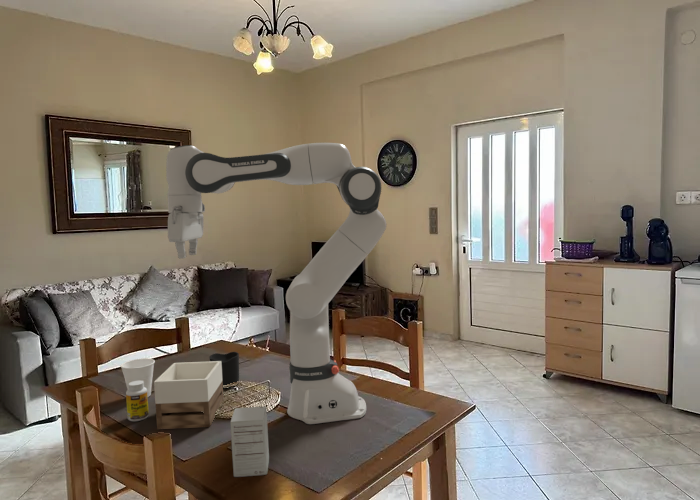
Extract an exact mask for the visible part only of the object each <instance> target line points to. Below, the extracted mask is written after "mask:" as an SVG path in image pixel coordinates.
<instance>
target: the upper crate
mask: <svg viewBox="0 0 700 500" xmlns="http://www.w3.org/2000/svg"><path fill="white" fill-rule="evenodd" d="M222 381H223V380H222V363H221V361H210V360H209V361H192V362H191V361H189V362H187V361H186V362H185V361H184V362H174V363H172V364H171V365H170V366H169V367H168V368H167V369H166V370H165V371H164V372H163V373H162V374H161V375H159V376H158V377H157V378H156V379H155V380H154V381H153V388H154V400H155V401H154V403H155V405H156V404H163V403H187V402H209V400H210V399H211V397H212V396H213V394H214V393H215V391H216V390H217V388H218V387H219V385H220V384H221V382H222Z"/></svg>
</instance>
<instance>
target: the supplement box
mask: <svg viewBox="0 0 700 500" xmlns="http://www.w3.org/2000/svg"><path fill="white" fill-rule="evenodd" d="M267 414H268V412H267V406H265V405H264V406H248V407H237V408H234V410H233V413H232V416H231V419H230V433H231V434H230V437H231V439H230V440H231V454H232V455H231V457H232V469H233V477H234V478H241V477H253V476H255V477H256V476H264V475H265V476H267V474H268V471H269V464H270V451H269V447H270V446H269V433H268V432H269V431H268V415H267Z"/></svg>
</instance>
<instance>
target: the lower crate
mask: <svg viewBox="0 0 700 500" xmlns="http://www.w3.org/2000/svg"><path fill="white" fill-rule="evenodd" d="M223 399H224V389H223V381H222V382H221V384H220V385H219V387H218V388H217V390H216V391H215V393H214V394H213V396H212V397H211V399H210V400H209V402H187V403H163V404H155V416H156V417H155V418H156V430H169V429H171V430H173V429H190V428H191V429H192V428H193V429H194V428H211V426H212V424H213V423H214V421H215V419H216V418H215V412H216V411H217V409H218V408H219V406H220V404H221V402H222V401H223ZM224 400H225V399H224ZM201 411H204V413H203V412H201ZM214 418H215V419H214ZM213 420H214V421H213ZM212 422H213V423H212Z"/></svg>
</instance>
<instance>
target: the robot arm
mask: <svg viewBox="0 0 700 500" xmlns="http://www.w3.org/2000/svg"><path fill="white" fill-rule="evenodd" d="M165 171H166V173H165V174H166V175H165V176H166V177H165V178H166V182H167V186H168V190H167V194H166V195H167V209H168V210H167V211H168V212H167V213H169V214H168V217H167V239H168V241H169V242H170V243H175V249H176V252H177V258H178V259H180V260H181V259H186V258H187V251H186V247H185V246H186V242H187V241H188V243H189V247H188V255H189V256H195V255H197V249H198V239H202V238H203V236H204V224H205V223H204V219H205V218H204V214H203V213H205V212H206V206H205V204H204V203H203V199H202V194H209V193H210V194H223V193H226V192H229V191H230V190H231V189H232V188H233V187H234V185H236V184H235V183H241V182H242V183H243V182H249V181H260V180H262V181H263V180H264V181H265V180H266V181H275V182H278V183H282V184H286V185H293V186H310V185H318V184H327V183H328V184H333V185H335V186H336V188H337V189H338V192H339V194H340V197H341V199H342V200H343V202H344V203H345V204H346V205H347V206H348V207H349V214H348V216H347V217H346V219H345V220H344V221H343V223H342V224H341V225H340V226H339V227H338V229H336V230H335V232H334V233H333V234H332V235H331V236H330V238H329V239H328V240H327V241H326V242H325V243H324V244H323V246H322V247H321V248H320V249H319V251H318V252H317V253H316V254H315V255H314V257H313V258H312V259H311V260H310V261H309V263H308V264H307V265H306V266H305V267H304V268H303V269H302V271H301V272H300V273H299V274H297V275H296V276H295V277H294V279H292V282H291V283H290V285H289V287H288V288H287V290H286V293H285V302H286V306H287V308H288V310H289V315H290V316H289V317H290V318H289V346H290V347H289V349H290V350H289V351H290V352H289V353H290V362H289V366H288V375H289V381H290V382H289V383H290V393H289V395H290V396H289V401H288V406H287V410H286V413H287V414H288V416H289V417H291V418H293V419H296V420H298V421H299V420H300V421H302V422H304V423H305V424H307V425H315V424H322V423H323V424H324V423H330V422H331V423H332V422H338V421H347V420H355V419H360V418H362V417H364V416H365V415H366V413H367V403H366V401H365V399H364V398H363V397H362V396H359V393H358V390H357V387H356V385H355V384H354V382H352V381H351V380H350V379H348V378H346V377H345V376H343V375H342V374H340V373H339V372H340V367H339V365H338V363H337V361H336V359H334V360H333V359H331V357H330V356H331V355H330V353H331V352H330V351H331V350H330V326H329V325H330V323H329V322H330V321H329V303H330V302H331V301H332V300H333V298H334V297H335V296H336V294H338V292H339V291H340V290H341V288H342V286H344V284H345V283H346V281H347V280H348V279H349V278H350V277H351V275H352V274H353V273H354V272H355V271H356V270H357V268H358V267H359V266H360V265H361V264H362V262H363V261H364V260H365V259H366V258H367V257H368V255H369V254H370V253H371V252H372V251H373V250H374V248H375V247H376V246H377V244H378V242H379V241H380V240H381V238H382V236H383V235H384V233H385V231H386V229H387V225H388V224H387V220H386V218H385V217H384V215H383V213H382V212H381V211H380V210H379V208H378V207H379V204H380V199H381V194H382V193H381V192H382V181H381V178H380V177H379V175H378V174H377V172H376V171H374V170H373V169H371V168H369V167H367V166H357V167H356V166H355V165H354V164H353V160H352V156H351V153H350V150H349V149H348V147H347V146H346V145H344V144H342V143H340V142H339V143H338V142H313V143H311V142H310V143H303V144H298V145H293V146H290V147H285V148H282V149H279V150H274V151H271V152H267V153H264V154H263V153H262V154H256V155H255V154H254V155H242V156H235V157H232V156H231V157H225V156H224V157H223V156H219V155H217V154H213V153H210V152H204V151H202V150H200V149H199V148H198V147H196V146H194V145H179V146H175V147H173V148H171V149H170V150H169V151H168V152H167V156H166V169H165Z"/></svg>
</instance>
